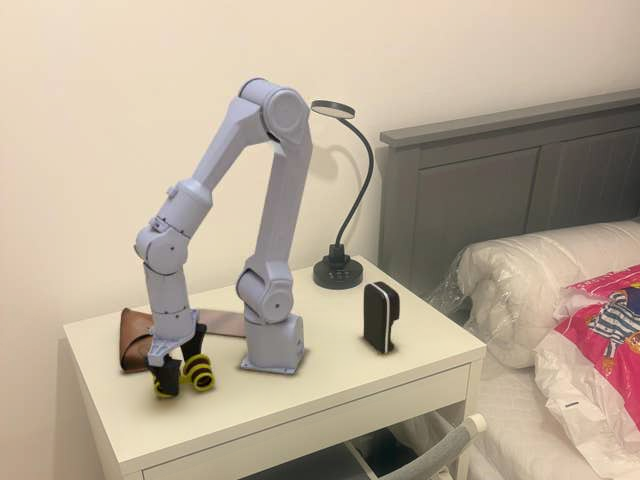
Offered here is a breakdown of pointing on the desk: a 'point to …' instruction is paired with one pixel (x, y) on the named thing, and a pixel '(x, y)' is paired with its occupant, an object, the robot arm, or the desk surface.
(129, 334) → the sunglasses case
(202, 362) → the opera glasses
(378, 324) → the battery charger
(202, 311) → the copper plate
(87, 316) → the desk surface
